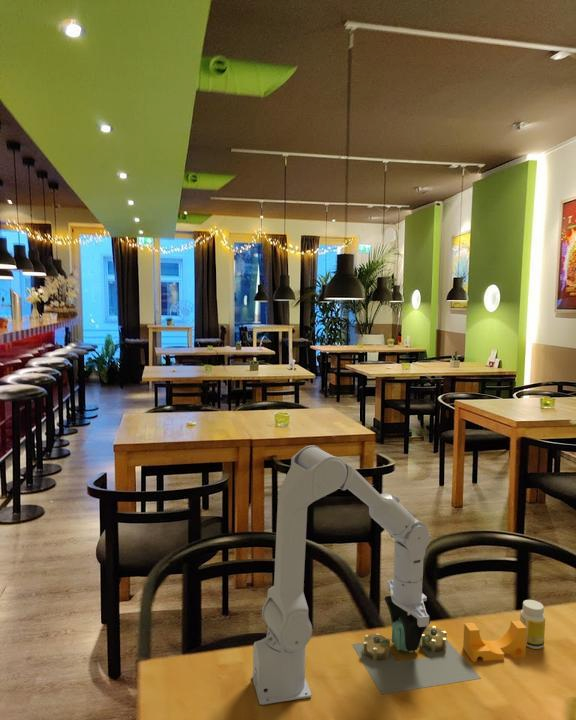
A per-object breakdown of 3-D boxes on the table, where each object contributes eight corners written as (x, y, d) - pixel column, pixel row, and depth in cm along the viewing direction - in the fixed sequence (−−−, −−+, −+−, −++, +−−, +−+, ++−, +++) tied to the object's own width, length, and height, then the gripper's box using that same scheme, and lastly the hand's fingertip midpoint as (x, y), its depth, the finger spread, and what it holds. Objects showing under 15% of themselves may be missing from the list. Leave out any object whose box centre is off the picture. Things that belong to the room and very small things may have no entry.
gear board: (381, 699, 95) (382, 678, 95) (351, 648, 110) (352, 630, 109) (481, 683, 100) (482, 662, 100) (439, 636, 115) (440, 618, 114)
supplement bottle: (548, 644, 112) (550, 606, 112) (535, 652, 110) (537, 613, 109) (527, 633, 116) (529, 596, 116) (514, 640, 114) (516, 602, 113)
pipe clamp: (472, 667, 105) (474, 635, 105) (462, 653, 109) (464, 623, 109) (530, 663, 106) (531, 632, 106) (518, 650, 111) (520, 620, 110)
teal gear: (399, 653, 105) (400, 633, 105) (388, 637, 110) (388, 618, 110) (423, 650, 106) (423, 630, 106) (410, 634, 112) (411, 615, 111)
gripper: (444, 592, 101) (441, 660, 102) (409, 558, 115) (407, 618, 116) (410, 596, 99) (407, 665, 101) (379, 561, 114) (377, 622, 115)
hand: (405, 640), depth 108 cm, fingers closed on teal gear, 5 cm apart
